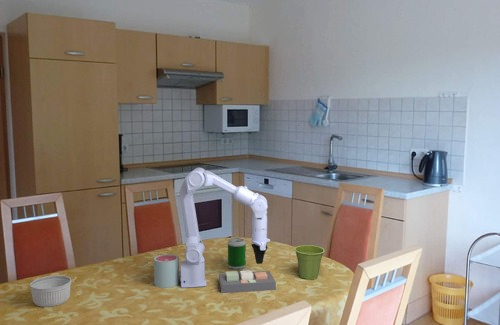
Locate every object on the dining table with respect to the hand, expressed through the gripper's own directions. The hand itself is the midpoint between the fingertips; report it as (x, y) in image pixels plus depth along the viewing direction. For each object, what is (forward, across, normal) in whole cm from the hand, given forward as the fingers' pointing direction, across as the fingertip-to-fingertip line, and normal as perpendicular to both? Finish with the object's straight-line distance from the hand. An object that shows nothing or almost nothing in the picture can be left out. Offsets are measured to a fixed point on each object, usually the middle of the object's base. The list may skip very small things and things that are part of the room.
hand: (259, 263), depth 173 cm
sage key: (+7, 0, +10) cm, 12 cm away
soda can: (+9, +20, +6) cm, 23 cm away
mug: (+9, +9, +34) cm, 36 cm away
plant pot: (+8, +5, -21) cm, 23 cm away
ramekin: (+9, -3, +74) cm, 74 cm away
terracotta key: (+8, 0, -1) cm, 8 cm away
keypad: (+8, 0, +5) cm, 10 cm away
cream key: (+7, 0, +5) cm, 8 cm away
